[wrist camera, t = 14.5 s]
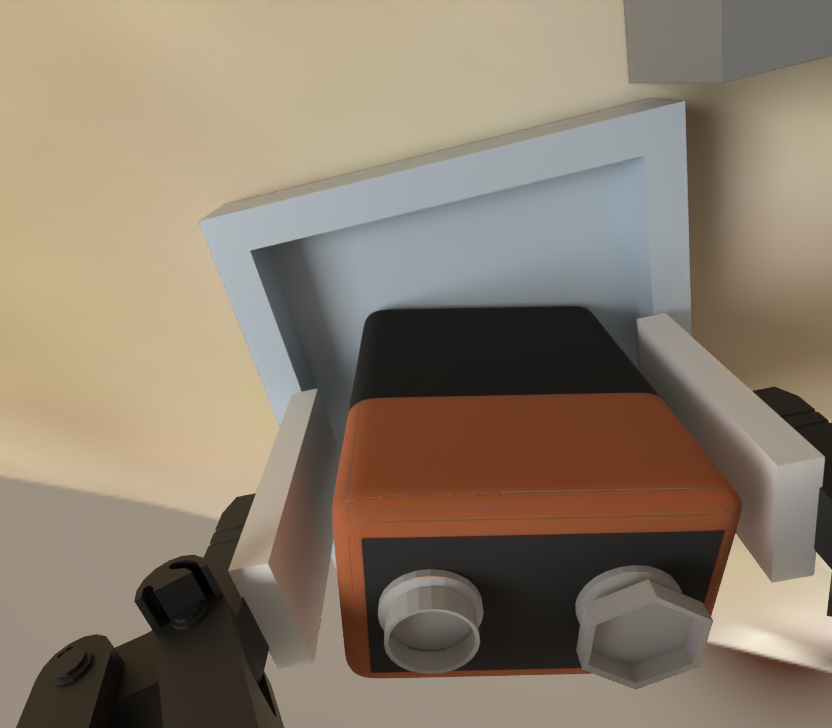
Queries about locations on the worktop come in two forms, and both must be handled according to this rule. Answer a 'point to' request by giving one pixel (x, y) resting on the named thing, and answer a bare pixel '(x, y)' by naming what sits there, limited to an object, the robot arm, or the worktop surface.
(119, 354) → the worktop surface
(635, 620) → the battery
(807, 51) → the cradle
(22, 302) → the worktop surface
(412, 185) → the tray
